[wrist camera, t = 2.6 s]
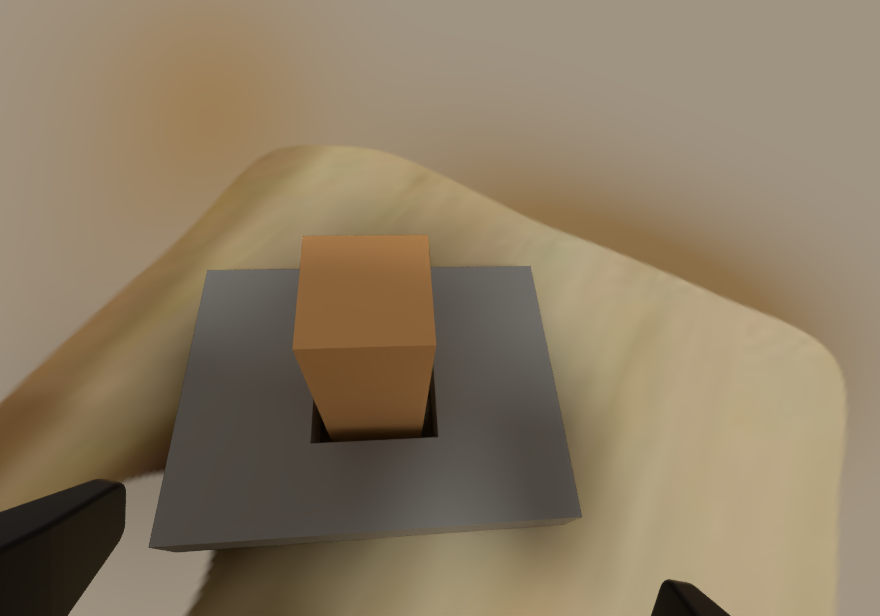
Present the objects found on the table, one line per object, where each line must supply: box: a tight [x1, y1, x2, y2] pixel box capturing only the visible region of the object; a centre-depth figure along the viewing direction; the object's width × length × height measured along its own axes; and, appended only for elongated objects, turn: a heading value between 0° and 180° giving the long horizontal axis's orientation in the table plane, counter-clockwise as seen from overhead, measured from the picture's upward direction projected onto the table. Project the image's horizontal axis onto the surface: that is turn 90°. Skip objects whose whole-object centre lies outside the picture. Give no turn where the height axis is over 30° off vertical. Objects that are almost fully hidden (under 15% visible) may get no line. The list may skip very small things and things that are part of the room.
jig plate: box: [149, 266, 582, 552], centre depth 22 cm, size 12×16×2 cm
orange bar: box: [292, 235, 436, 442], centre depth 19 cm, size 4×4×10 cm
